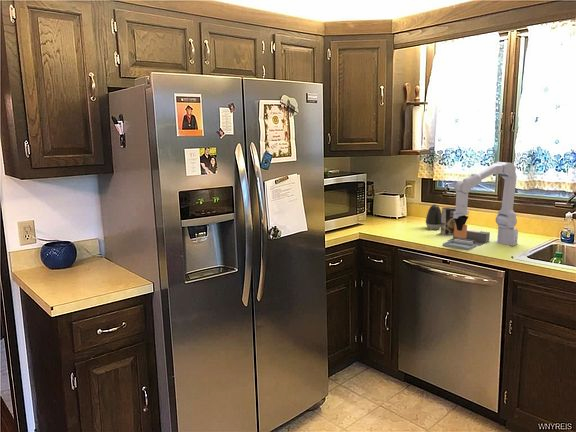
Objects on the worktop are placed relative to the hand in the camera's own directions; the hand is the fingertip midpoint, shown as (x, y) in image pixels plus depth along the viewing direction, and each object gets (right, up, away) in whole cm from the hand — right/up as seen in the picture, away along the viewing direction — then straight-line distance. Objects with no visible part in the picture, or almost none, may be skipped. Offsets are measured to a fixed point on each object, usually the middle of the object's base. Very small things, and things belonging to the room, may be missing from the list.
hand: (460, 230), depth 242 cm
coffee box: (+5, -4, +30) cm, 30 cm away
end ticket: (0, -4, +1) cm, 4 cm away
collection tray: (0, -9, +2) cm, 9 cm away
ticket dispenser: (+9, -7, +12) cm, 17 cm away
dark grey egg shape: (+1, -1, +47) cm, 47 cm away
